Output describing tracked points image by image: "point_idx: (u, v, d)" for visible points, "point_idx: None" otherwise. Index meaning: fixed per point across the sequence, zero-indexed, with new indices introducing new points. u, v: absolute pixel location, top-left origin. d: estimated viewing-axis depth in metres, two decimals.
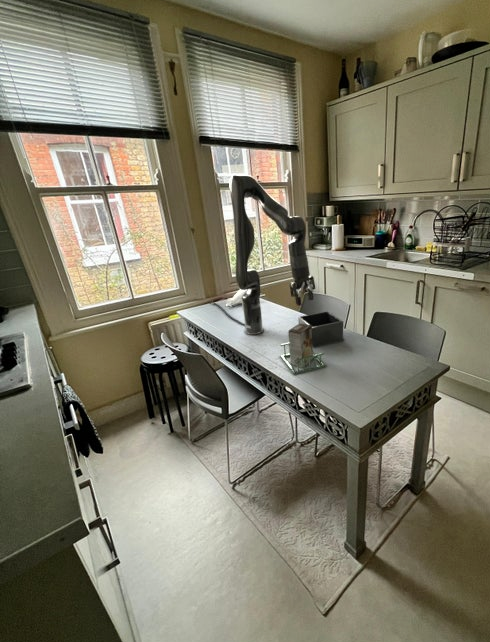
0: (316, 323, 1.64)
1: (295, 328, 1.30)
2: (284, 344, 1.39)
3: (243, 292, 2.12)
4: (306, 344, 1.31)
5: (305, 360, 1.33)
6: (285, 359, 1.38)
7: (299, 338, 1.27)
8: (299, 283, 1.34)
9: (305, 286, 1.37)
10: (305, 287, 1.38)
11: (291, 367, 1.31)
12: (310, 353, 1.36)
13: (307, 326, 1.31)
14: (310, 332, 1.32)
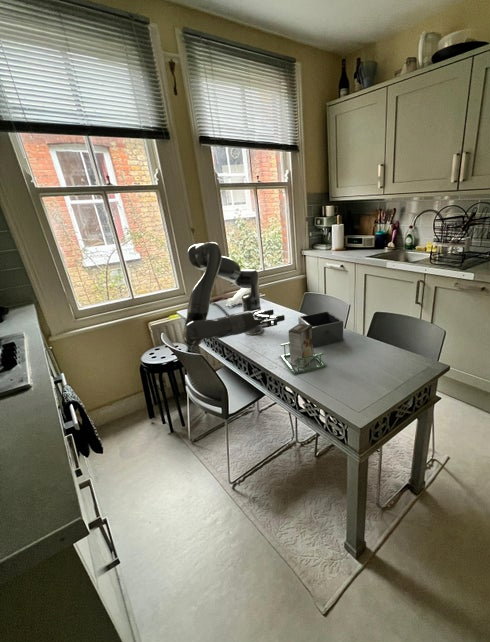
0: (316, 323, 1.64)
1: (295, 328, 1.30)
2: (284, 344, 1.39)
3: (243, 292, 2.12)
4: (306, 344, 1.31)
5: (305, 360, 1.33)
6: (285, 359, 1.38)
7: (299, 338, 1.27)
8: None
9: None
10: None
11: (291, 367, 1.31)
12: (310, 353, 1.36)
13: (307, 326, 1.31)
14: (310, 332, 1.32)
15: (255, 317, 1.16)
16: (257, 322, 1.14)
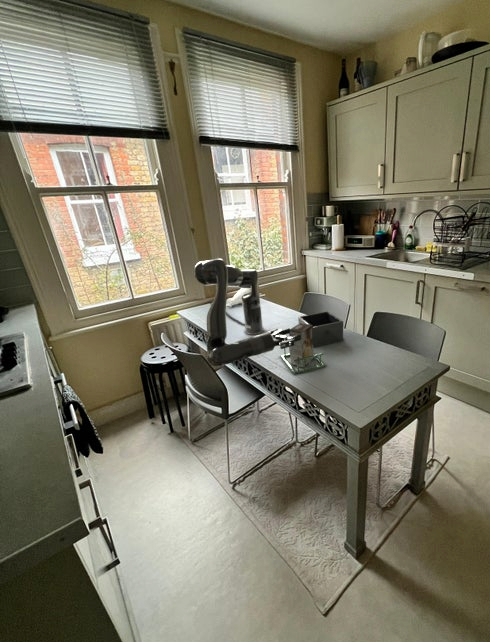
0: (316, 323, 1.64)
1: (296, 328, 1.30)
2: None
3: (243, 292, 2.12)
4: (306, 344, 1.31)
5: (305, 360, 1.33)
6: (285, 359, 1.38)
7: None
8: None
9: None
10: None
11: (291, 367, 1.31)
12: (310, 352, 1.36)
13: (308, 326, 1.31)
14: (311, 332, 1.32)
15: (273, 338, 1.24)
16: (276, 343, 1.22)
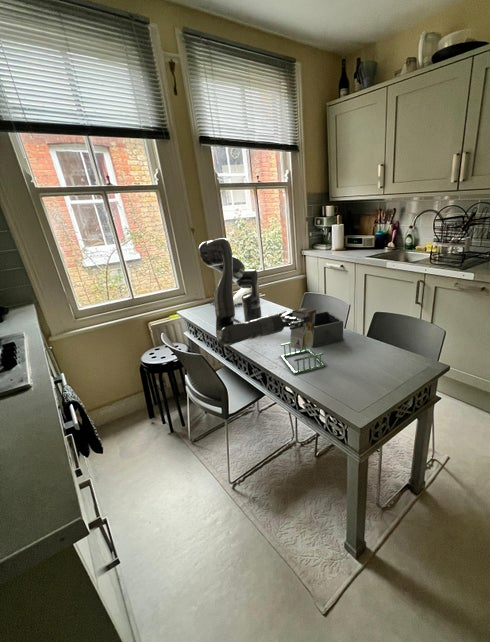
0: (316, 323, 1.64)
1: (299, 310, 1.29)
2: (284, 344, 1.39)
3: (243, 292, 2.12)
4: (308, 327, 1.29)
5: (305, 344, 1.30)
6: (285, 359, 1.38)
7: None
8: None
9: None
10: None
11: (291, 367, 1.31)
12: (311, 338, 1.34)
13: (311, 310, 1.30)
14: (313, 316, 1.31)
15: (283, 319, 1.24)
16: (285, 324, 1.21)
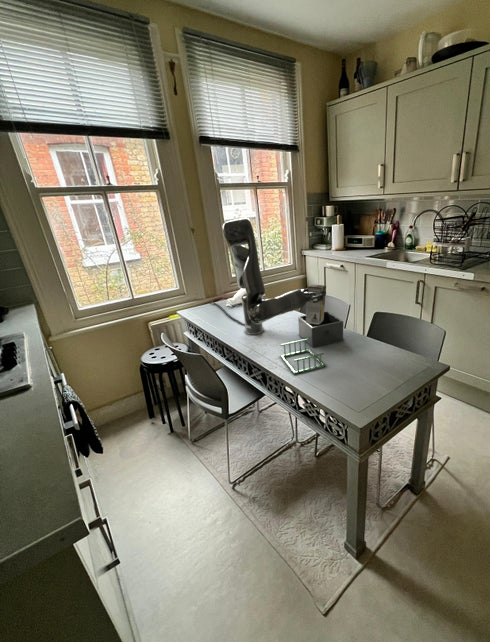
0: None
1: (313, 286, 1.36)
2: (284, 344, 1.39)
3: (243, 292, 2.12)
4: (322, 302, 1.37)
5: (320, 318, 1.38)
6: (285, 359, 1.38)
7: None
8: None
9: None
10: None
11: (291, 367, 1.31)
12: (323, 313, 1.42)
13: (322, 285, 1.39)
14: None
15: None
16: (307, 298, 1.27)
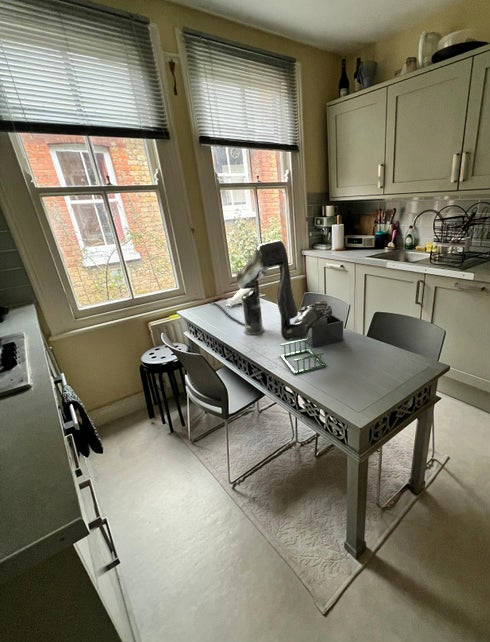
0: None
1: (318, 303, 1.52)
2: (284, 344, 1.39)
3: (243, 292, 2.12)
4: None
5: None
6: (285, 359, 1.38)
7: None
8: None
9: None
10: None
11: (291, 367, 1.31)
12: None
13: (323, 301, 1.57)
14: None
15: None
16: (321, 314, 1.44)
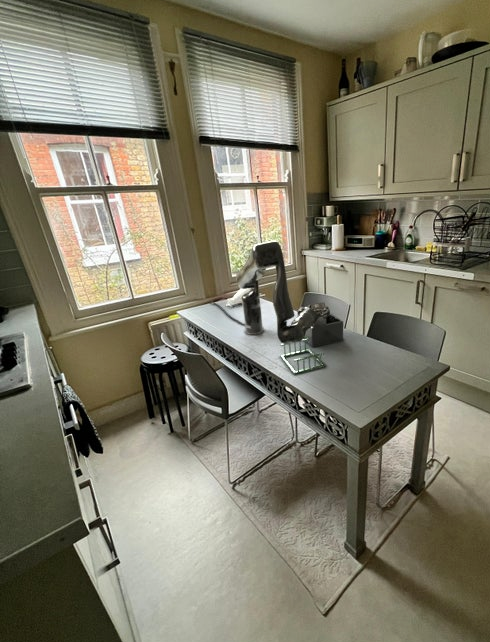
0: None
1: (316, 306, 1.50)
2: (284, 344, 1.39)
3: (243, 292, 2.12)
4: None
5: None
6: (285, 359, 1.38)
7: None
8: None
9: None
10: None
11: (291, 367, 1.31)
12: None
13: (322, 303, 1.54)
14: None
15: None
16: (318, 315, 1.40)
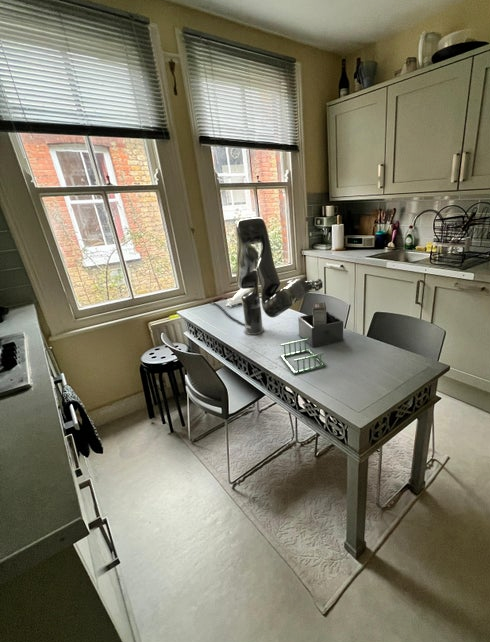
0: None
1: (316, 306, 1.50)
2: (284, 344, 1.39)
3: (243, 292, 2.12)
4: None
5: None
6: (285, 359, 1.38)
7: (324, 313, 1.49)
8: None
9: None
10: None
11: (291, 367, 1.31)
12: None
13: (322, 303, 1.54)
14: None
15: None
16: (309, 287, 1.26)
